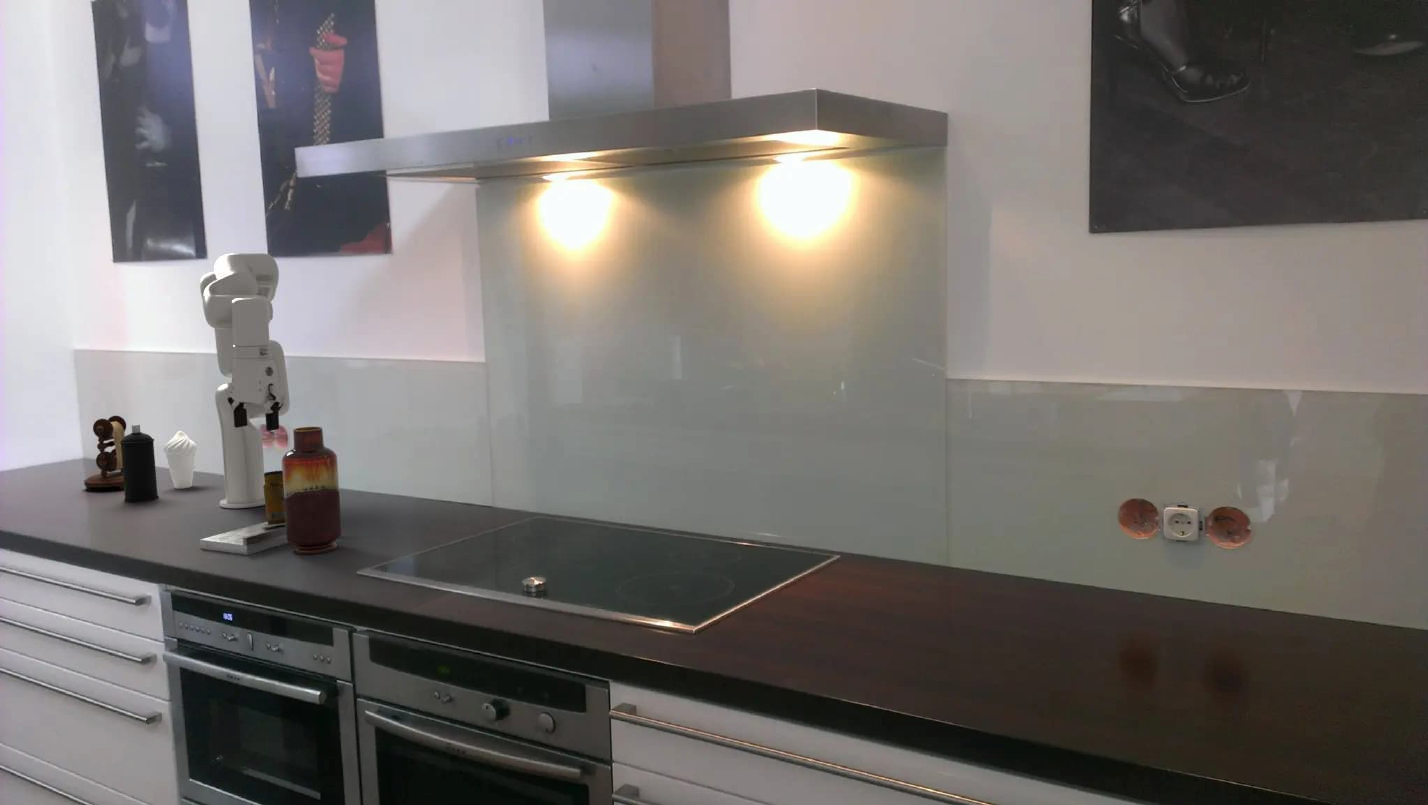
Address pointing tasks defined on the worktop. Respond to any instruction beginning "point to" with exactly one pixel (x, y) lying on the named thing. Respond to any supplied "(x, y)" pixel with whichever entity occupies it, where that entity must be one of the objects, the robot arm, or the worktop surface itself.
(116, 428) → the brown wooden figurine
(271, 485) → the condiment
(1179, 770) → the worktop surface
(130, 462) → the aerosol can
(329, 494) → the vase
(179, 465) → the soft serve ice cream cone
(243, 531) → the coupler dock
